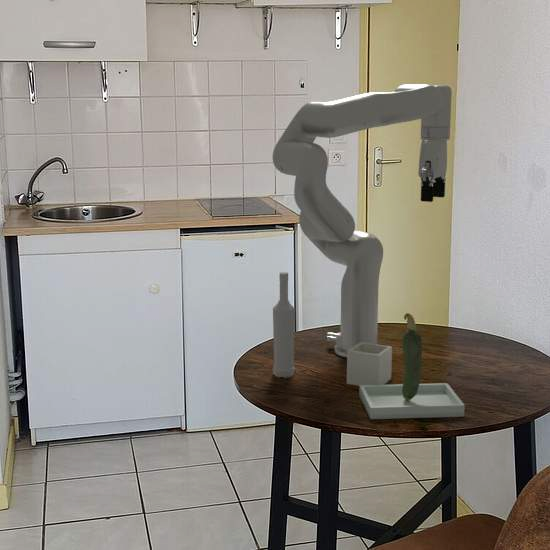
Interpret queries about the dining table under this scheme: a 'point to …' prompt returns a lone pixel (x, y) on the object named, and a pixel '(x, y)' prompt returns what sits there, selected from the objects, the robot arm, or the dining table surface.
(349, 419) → the dining table surface
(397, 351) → the dining table surface
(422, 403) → the tray
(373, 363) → the grey square open box
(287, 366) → the bottle
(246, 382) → the dining table surface
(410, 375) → the vegetable
